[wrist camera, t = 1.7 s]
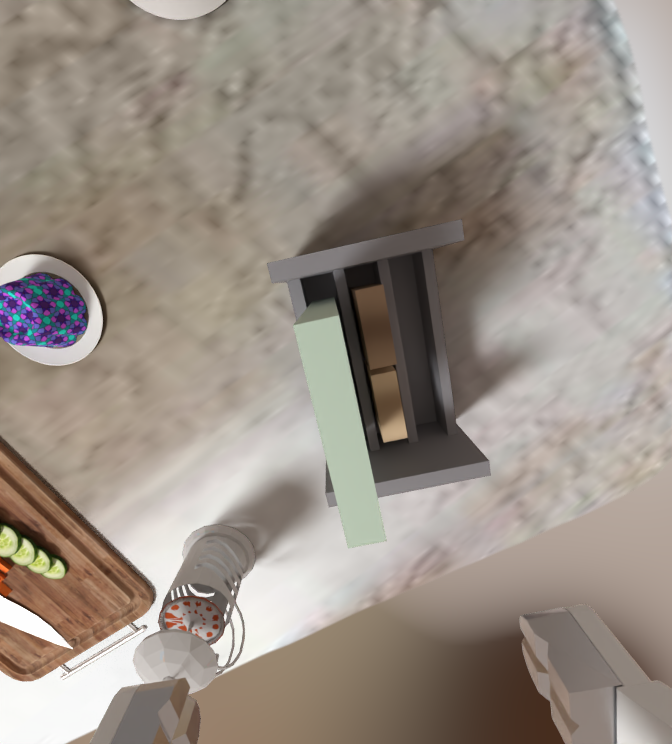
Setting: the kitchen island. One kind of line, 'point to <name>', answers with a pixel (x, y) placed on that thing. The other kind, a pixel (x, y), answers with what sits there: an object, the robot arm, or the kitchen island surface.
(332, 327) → the tall panel
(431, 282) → the rack
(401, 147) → the kitchen island surface
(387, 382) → the offcut oak
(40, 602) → the chopping board
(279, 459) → the kitchen island surface
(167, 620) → the french press
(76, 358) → the pudding
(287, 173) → the kitchen island surface
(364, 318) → the offcut walnut
